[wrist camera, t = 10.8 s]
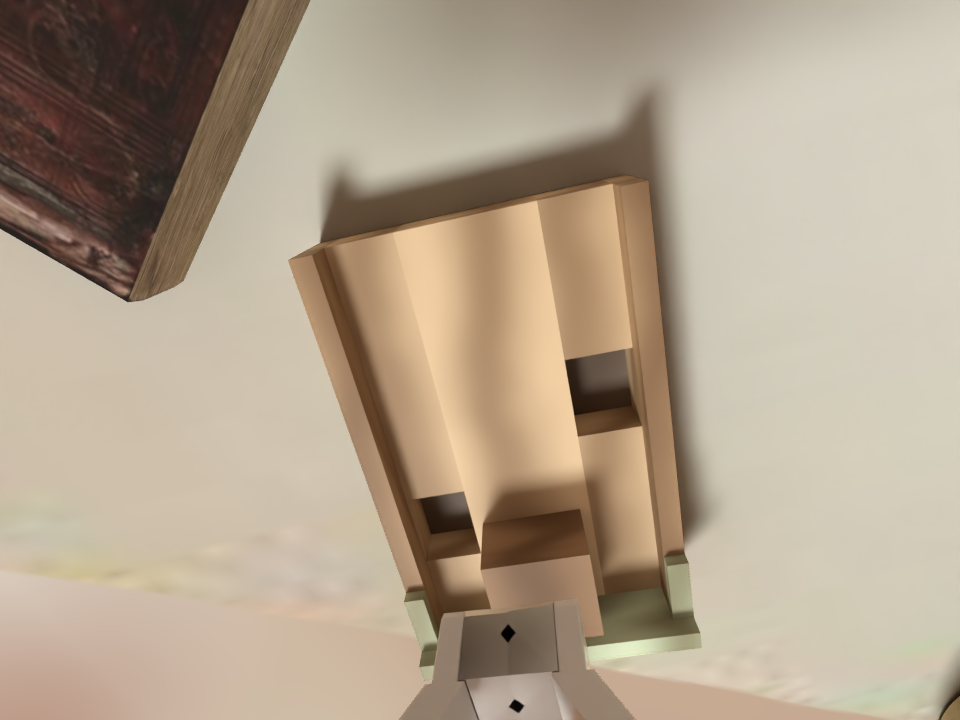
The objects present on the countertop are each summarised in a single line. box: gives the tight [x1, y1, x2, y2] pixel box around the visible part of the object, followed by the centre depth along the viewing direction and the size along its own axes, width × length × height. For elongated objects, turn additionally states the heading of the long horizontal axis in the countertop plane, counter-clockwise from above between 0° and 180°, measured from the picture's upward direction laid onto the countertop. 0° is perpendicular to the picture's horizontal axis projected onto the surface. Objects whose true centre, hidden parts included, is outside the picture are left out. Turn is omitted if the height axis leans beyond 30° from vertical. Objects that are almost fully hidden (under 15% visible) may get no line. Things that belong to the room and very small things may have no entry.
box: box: [288, 175, 701, 681], centre depth 25 cm, size 14×22×5 cm, turn 12°
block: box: [480, 509, 604, 637], centre depth 26 cm, size 5×5×3 cm
